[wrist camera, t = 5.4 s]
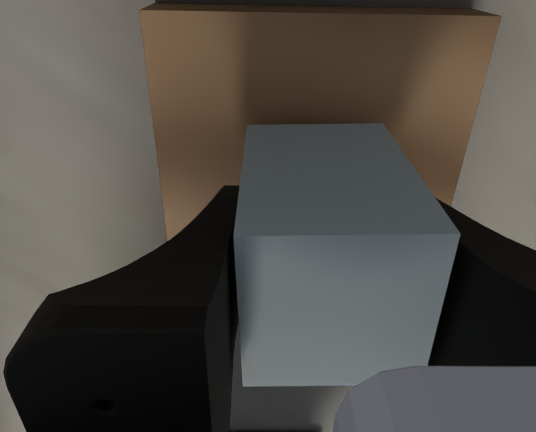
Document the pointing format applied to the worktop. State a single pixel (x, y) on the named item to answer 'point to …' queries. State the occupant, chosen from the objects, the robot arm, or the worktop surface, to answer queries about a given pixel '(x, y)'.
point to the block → (335, 256)
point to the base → (307, 85)
